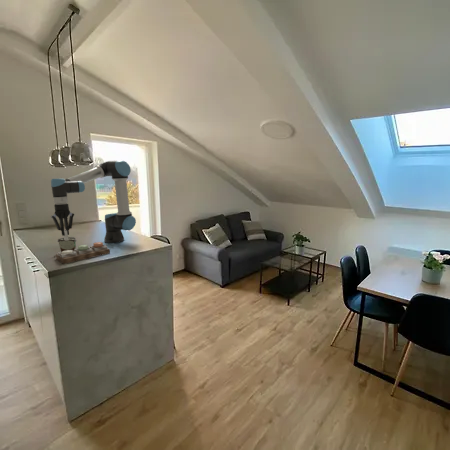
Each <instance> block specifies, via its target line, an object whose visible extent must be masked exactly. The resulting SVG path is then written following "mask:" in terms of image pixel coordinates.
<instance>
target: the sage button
mask: <svg viewBox="0 0 450 450" xmlns="http://www.w3.org/2000/svg"><path fill="white" fill-rule="evenodd" d="M88 247H89V245H88V244H82V245H78V246H77V249H78V250H79V251H84V250H88Z"/></svg>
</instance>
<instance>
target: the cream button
mask: <svg viewBox="0 0 450 450" xmlns="http://www.w3.org/2000/svg"><path fill="white" fill-rule="evenodd" d="M69 253H72V250H66V251H62V254H63V255H64V254H69Z"/></svg>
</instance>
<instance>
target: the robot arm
mask: <svg viewBox="0 0 450 450" xmlns="http://www.w3.org/2000/svg"><path fill="white" fill-rule="evenodd" d="M130 173H131V167H130V165H129V163H128V162H127V161H125V160H108V161H104V162H102V163H100V164H98V165H95V166H94V167H93V168H91V169H88V170H86V171H83V172H80V173H78V174H75V175H72V176H70V177H68V178H62V177H61V178H51V180H50V185H51V190H52V191H51V193H52V198H53V204H54V205H53V206H54V207H53V208H54V214H53V215H51V216H50V218H51V219H52V220H53V222H54V225H55V226H56V229H57V230H58V231H60V232H61V235H62V237H63V238H64V240H65V241H67V240H68V237H69V235H70V230H72V228H73V221H74V219H73V218H74V216H75V213H74V212H71V211H70V208H69V206H70V205H69V200H68V194H76V193H83V192H84V191H85V190H86V185H85V184H86V183H90V182H91V181H93V180H96V179H98V178H101V179H103V178H105V177H111V179H112V181H114V188H115V198H116V205H117V206H116V207H117V212H114V213H113V212H112V213H106V214H105V215H104V224H105V226H104V227H105V235H104V238H103V239H104V243H107V244H115V243H121V242H123V240H124V241H125V237H124V234H123V232H122V230H123V231H131V230H133V229H134V227H135V226H136V223H137V220H136V219H137V218H136V217H135V216H133V213H132V211H130V204H129V193H128V185H127V184H128V183H127V182H128V181H127V180H128V179H129V176H130ZM57 218H58V219H57ZM58 220H59V221H58Z"/></svg>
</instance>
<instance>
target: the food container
mask: <svg viewBox="0 0 450 450" xmlns="http://www.w3.org/2000/svg"><path fill="white" fill-rule="evenodd" d="M76 242H77V239H76V237H75V236H71V237H69V236H68V240H67V241H65V240H64V237H61V238H58V239H57V243H58V245H59V250H60V252H62V251H66V250H73V251H74V249H77V248H76Z"/></svg>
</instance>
